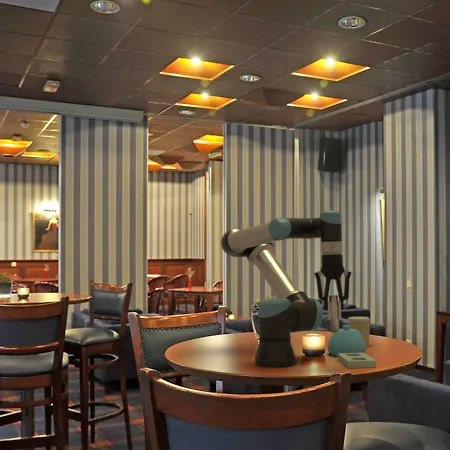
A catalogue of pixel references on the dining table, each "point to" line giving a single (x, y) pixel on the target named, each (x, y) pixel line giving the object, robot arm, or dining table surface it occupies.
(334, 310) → the grey stone block
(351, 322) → the coffee cup
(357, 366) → the hole board
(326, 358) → the dining table surface
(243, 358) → the dining table surface
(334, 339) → the sugar bowl
